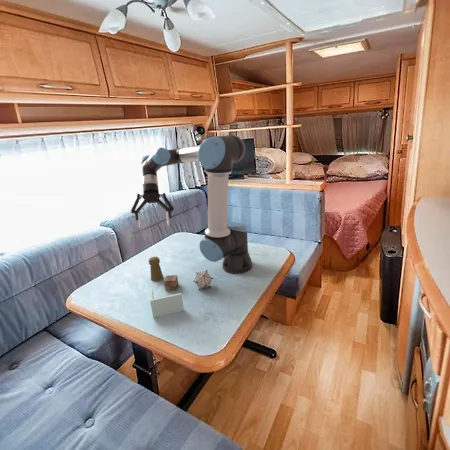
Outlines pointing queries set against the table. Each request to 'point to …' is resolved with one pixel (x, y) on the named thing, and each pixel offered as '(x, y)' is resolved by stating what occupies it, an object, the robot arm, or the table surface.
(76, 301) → the table surface
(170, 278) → the walnut block
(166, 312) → the l-shaped corner panel
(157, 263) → the cork
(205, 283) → the game die
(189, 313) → the table surface
